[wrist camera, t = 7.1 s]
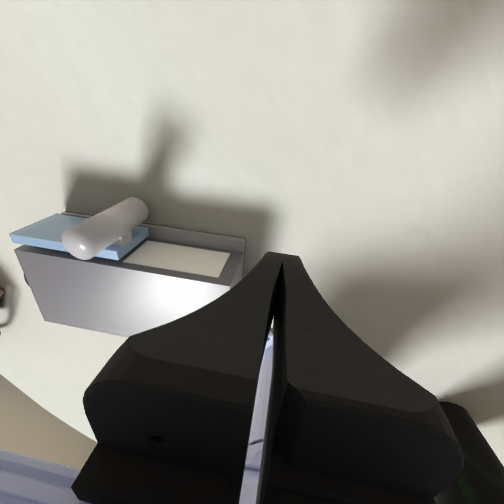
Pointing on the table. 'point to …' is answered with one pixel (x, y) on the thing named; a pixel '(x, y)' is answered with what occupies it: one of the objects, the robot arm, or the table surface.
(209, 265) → the housing
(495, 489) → the cup
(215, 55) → the table surface
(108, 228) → the door
